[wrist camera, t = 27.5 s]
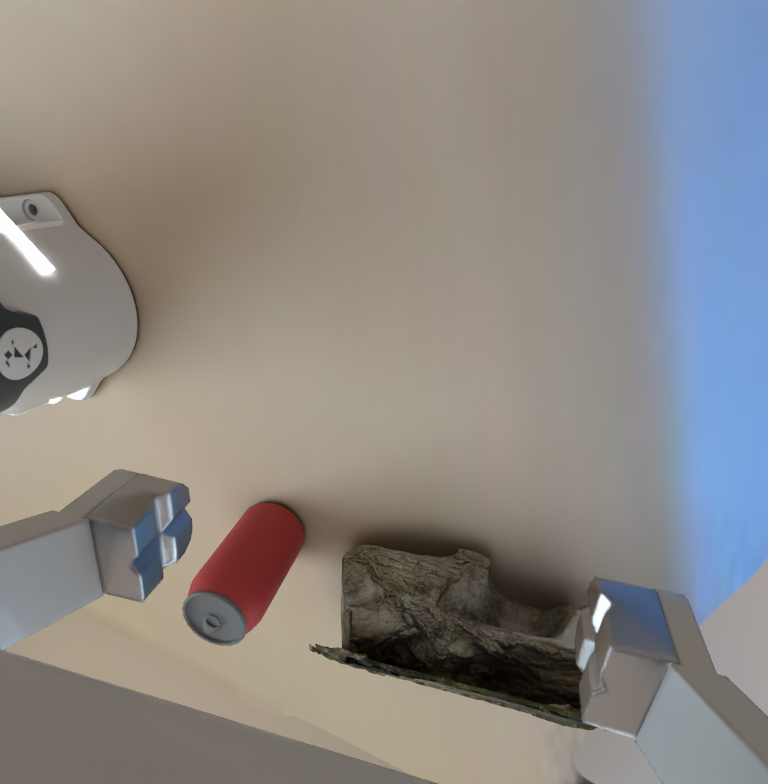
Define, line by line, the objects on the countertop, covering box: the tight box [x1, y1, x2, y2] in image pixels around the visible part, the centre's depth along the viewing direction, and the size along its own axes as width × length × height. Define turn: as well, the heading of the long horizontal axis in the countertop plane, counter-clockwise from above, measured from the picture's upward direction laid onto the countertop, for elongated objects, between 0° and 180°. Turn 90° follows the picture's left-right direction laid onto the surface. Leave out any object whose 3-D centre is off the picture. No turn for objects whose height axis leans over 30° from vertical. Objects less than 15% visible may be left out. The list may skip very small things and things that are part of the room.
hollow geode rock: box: [309, 545, 609, 731], centre depth 45 cm, size 28×13×15 cm
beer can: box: [182, 503, 304, 645], centre depth 47 cm, size 7×7×12 cm
